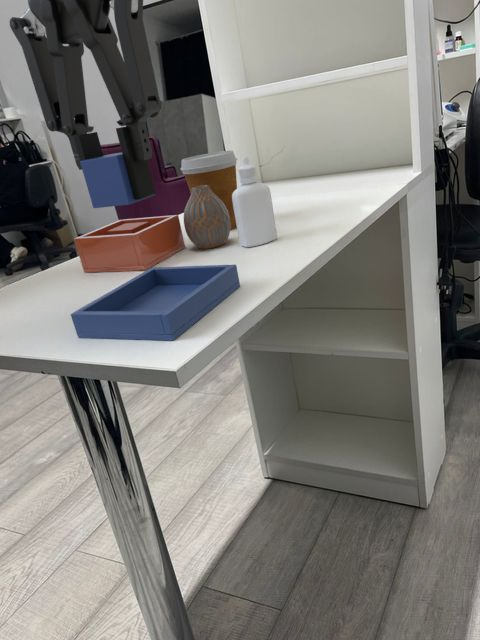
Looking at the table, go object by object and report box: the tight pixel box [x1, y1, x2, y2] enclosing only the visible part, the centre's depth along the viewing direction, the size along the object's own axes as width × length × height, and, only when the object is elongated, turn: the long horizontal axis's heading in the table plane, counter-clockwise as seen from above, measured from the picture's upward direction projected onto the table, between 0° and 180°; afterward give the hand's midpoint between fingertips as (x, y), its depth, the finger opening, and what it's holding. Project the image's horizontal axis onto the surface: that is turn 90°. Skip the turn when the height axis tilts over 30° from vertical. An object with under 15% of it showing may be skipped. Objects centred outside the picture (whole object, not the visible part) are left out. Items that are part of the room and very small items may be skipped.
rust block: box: [107, 222, 150, 235], centre depth 81 cm, size 4×4×4 cm
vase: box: [183, 185, 231, 250], centre depth 81 cm, size 7×7×9 cm
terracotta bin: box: [73, 214, 186, 273], centre depth 81 cm, size 11×11×5 cm
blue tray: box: [69, 264, 241, 341], centre depth 58 cm, size 12×15×3 cm
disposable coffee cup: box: [179, 150, 238, 230], centre depth 91 cm, size 10×10×12 cm
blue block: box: [80, 151, 156, 209], centre depth 53 cm, size 4×4×4 cm
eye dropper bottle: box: [232, 156, 278, 248], centre depth 77 cm, size 4×6×12 cm
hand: (124, 198), depth 54 cm, fingers closed on blue block, 4 cm apart
